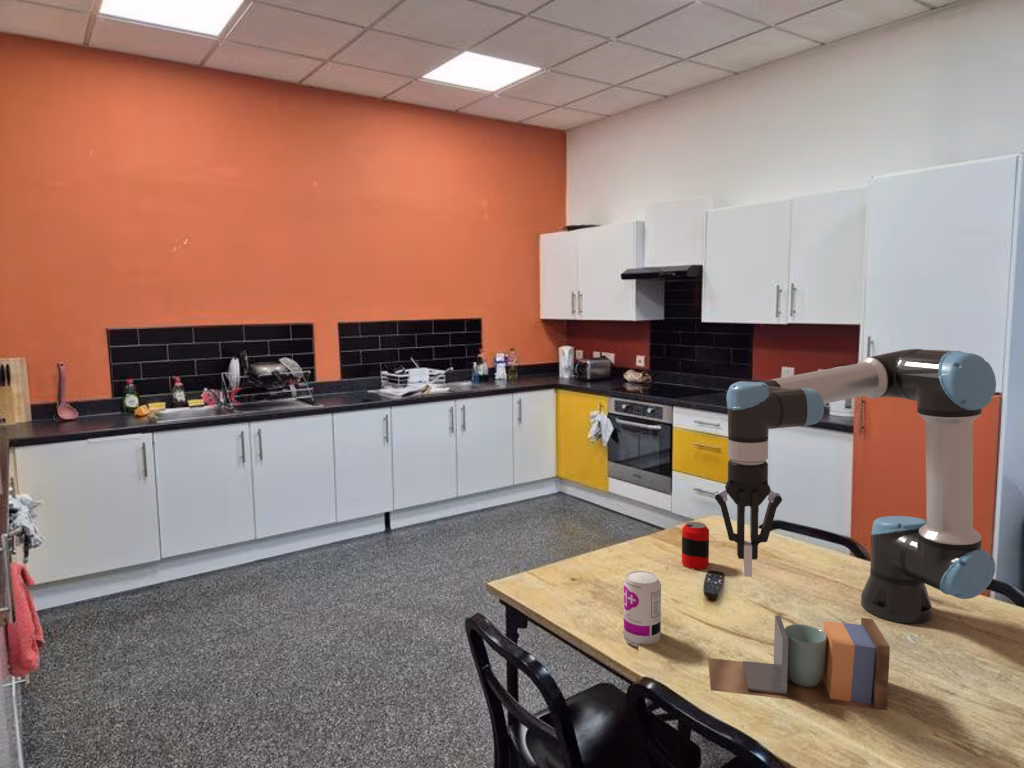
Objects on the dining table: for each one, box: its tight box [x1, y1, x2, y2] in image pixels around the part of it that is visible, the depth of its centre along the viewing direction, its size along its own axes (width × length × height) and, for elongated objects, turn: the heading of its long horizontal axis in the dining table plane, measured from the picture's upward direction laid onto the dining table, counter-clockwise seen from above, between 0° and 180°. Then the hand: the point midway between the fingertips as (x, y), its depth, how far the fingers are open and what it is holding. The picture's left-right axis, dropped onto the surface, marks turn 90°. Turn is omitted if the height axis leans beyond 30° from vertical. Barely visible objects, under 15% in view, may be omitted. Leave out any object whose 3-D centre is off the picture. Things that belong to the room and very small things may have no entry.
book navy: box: [842, 622, 876, 704], centre depth 127 cm, size 4×9×11 cm, turn 166°
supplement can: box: [623, 570, 662, 648], centre depth 149 cm, size 8×8×15 cm
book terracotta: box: [822, 620, 855, 701], centre depth 128 cm, size 4×9×11 cm, turn 166°
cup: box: [784, 623, 827, 687], centre depth 130 cm, size 8×8×10 cm
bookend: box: [742, 614, 788, 695], centre depth 131 cm, size 7×10×11 cm
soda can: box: [681, 521, 710, 570], centre depth 192 cm, size 8×8×12 cm
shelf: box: [707, 617, 891, 711], centre depth 130 cm, size 31×12×13 cm, turn 76°
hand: (747, 573), depth 134 cm, fingers closed
